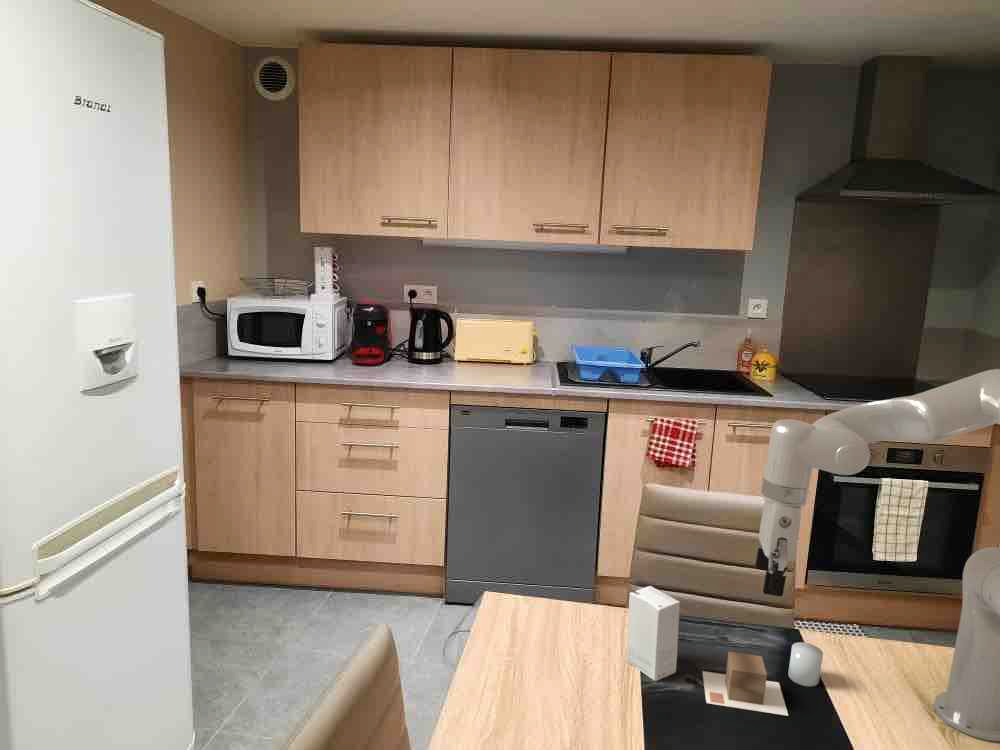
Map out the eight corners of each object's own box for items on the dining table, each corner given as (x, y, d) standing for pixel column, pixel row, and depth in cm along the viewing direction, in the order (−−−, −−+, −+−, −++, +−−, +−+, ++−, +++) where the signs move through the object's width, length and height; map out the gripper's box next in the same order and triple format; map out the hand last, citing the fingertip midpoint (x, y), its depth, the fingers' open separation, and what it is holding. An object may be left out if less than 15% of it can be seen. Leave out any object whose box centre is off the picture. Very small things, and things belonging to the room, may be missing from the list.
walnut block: (758, 685, 141) (761, 656, 139) (762, 705, 135) (766, 674, 134) (725, 680, 142) (728, 651, 140) (728, 699, 136) (731, 669, 135)
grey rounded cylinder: (815, 672, 146) (819, 644, 145) (821, 689, 141) (826, 660, 139) (785, 668, 147) (789, 640, 146) (790, 684, 142) (794, 656, 140)
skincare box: (676, 674, 143) (684, 602, 140) (653, 683, 140) (660, 610, 137) (645, 652, 150) (651, 583, 147) (622, 660, 147) (629, 590, 144)
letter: (778, 683, 142) (778, 682, 142) (788, 716, 132) (788, 715, 132) (702, 672, 144) (702, 671, 144) (706, 703, 135) (706, 702, 135)
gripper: (817, 512, 121) (799, 609, 125) (797, 478, 138) (781, 564, 142) (769, 505, 123) (752, 601, 126) (755, 472, 139) (740, 557, 143)
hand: (768, 581), depth 134 cm, fingers open, 9 cm apart
